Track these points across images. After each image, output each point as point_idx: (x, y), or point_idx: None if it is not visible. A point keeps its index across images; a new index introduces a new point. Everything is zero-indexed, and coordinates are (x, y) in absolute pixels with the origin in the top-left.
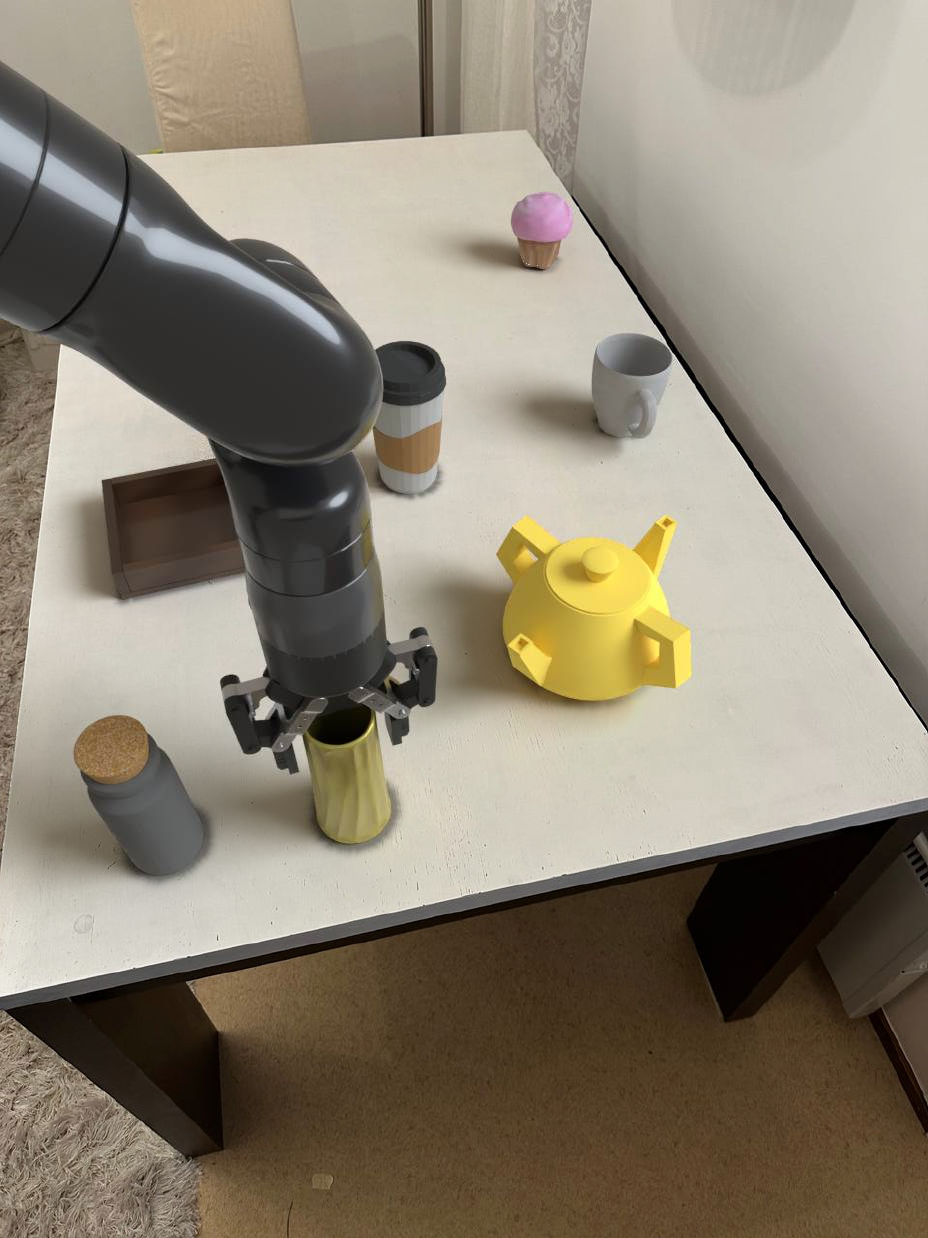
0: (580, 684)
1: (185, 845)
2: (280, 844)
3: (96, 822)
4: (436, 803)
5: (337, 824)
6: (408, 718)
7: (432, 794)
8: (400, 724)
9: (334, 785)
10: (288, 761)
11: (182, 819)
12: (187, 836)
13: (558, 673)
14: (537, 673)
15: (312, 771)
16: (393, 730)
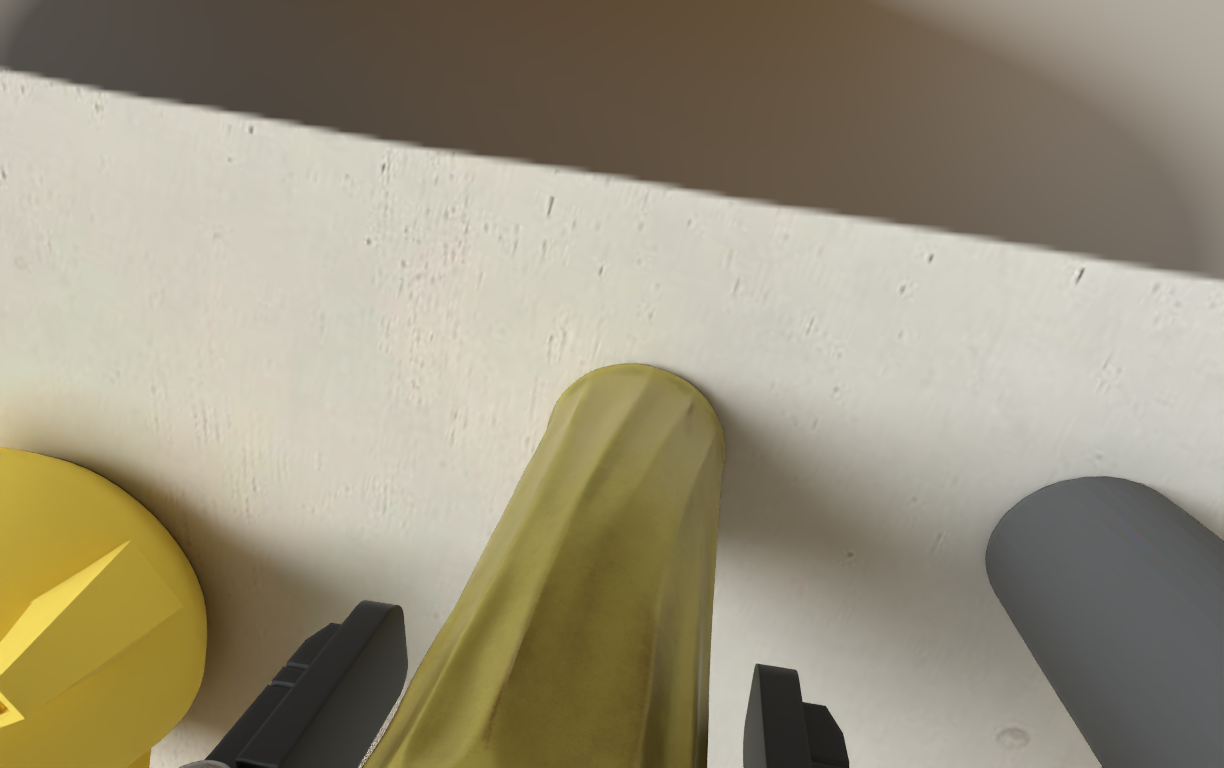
0: (15, 510)
1: (1094, 537)
2: (828, 438)
3: None
4: (450, 383)
5: (684, 426)
6: (241, 718)
7: (453, 406)
8: (271, 715)
9: (649, 554)
10: (802, 766)
11: (1135, 629)
12: (1091, 560)
13: (49, 557)
14: (86, 580)
15: (705, 625)
16: (323, 693)
